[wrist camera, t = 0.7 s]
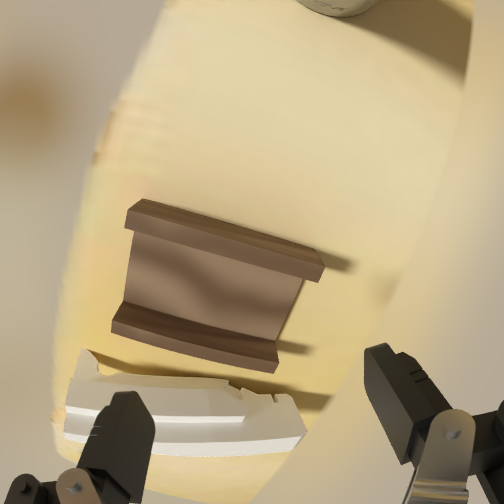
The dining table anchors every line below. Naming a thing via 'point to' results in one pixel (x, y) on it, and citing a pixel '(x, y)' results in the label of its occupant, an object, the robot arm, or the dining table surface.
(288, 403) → the shelf bracket
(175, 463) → the dining table surface
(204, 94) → the dining table surface
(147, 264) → the walnut channel
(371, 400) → the robot arm
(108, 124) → the dining table surface
